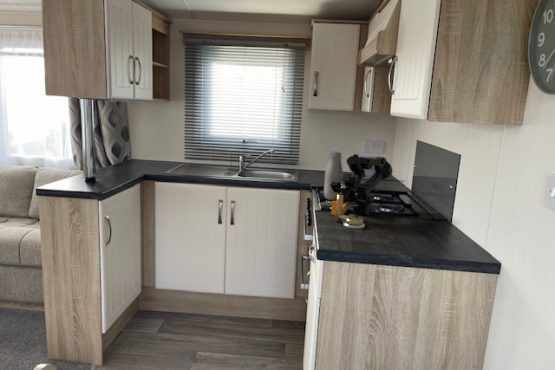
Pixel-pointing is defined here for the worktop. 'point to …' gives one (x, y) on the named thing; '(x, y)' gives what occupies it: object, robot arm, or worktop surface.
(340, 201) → the bronze dome and bar
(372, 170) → the cake pan box
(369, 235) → the worktop surface
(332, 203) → the pipe clamp
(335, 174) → the glass bottle
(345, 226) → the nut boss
